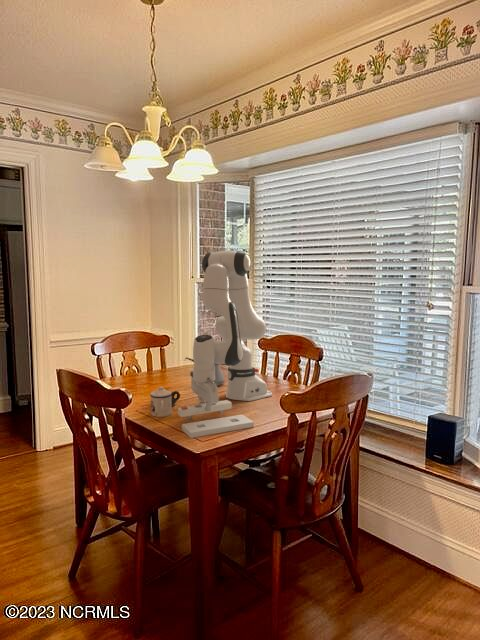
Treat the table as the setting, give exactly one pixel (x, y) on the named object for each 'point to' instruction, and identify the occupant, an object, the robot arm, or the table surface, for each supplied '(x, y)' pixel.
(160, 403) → the teacup with lid
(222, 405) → the power strip
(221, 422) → the plate
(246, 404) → the table surface
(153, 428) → the table surface
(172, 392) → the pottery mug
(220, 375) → the coffee pot
